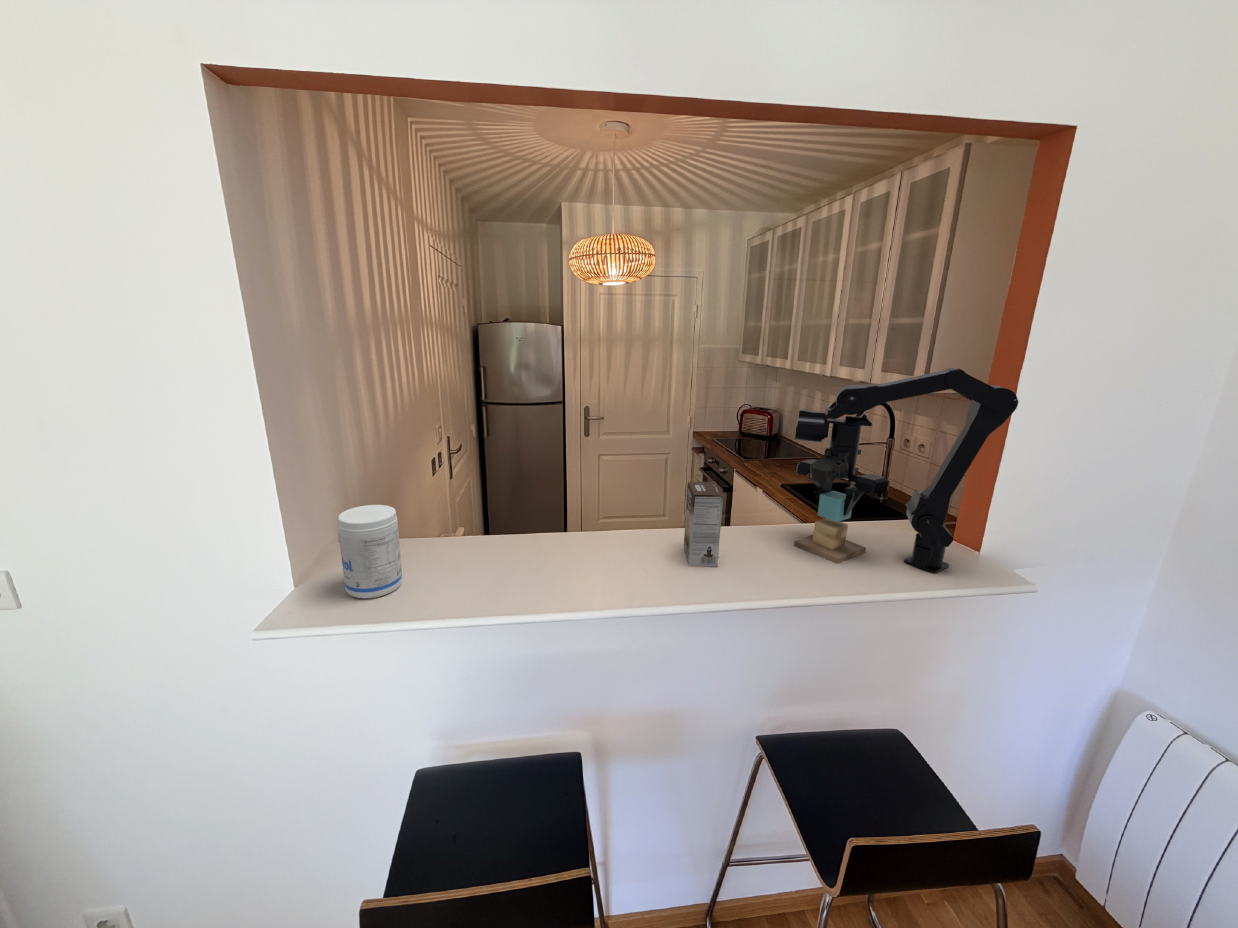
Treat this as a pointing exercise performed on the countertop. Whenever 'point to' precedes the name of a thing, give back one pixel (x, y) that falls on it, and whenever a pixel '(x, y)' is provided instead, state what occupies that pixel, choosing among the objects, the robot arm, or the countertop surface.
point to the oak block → (830, 533)
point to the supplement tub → (370, 550)
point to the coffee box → (703, 523)
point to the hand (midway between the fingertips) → (834, 511)
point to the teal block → (833, 506)
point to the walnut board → (830, 554)
